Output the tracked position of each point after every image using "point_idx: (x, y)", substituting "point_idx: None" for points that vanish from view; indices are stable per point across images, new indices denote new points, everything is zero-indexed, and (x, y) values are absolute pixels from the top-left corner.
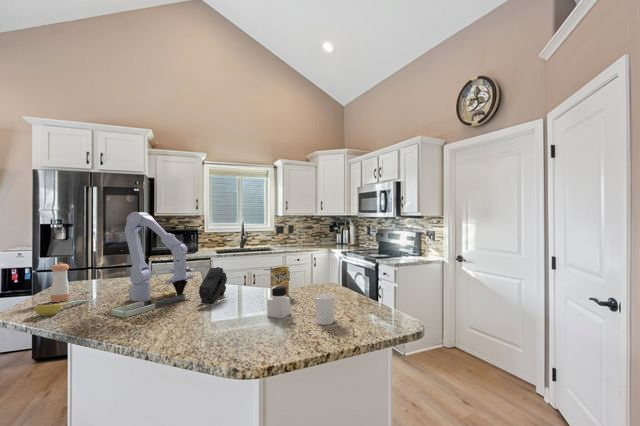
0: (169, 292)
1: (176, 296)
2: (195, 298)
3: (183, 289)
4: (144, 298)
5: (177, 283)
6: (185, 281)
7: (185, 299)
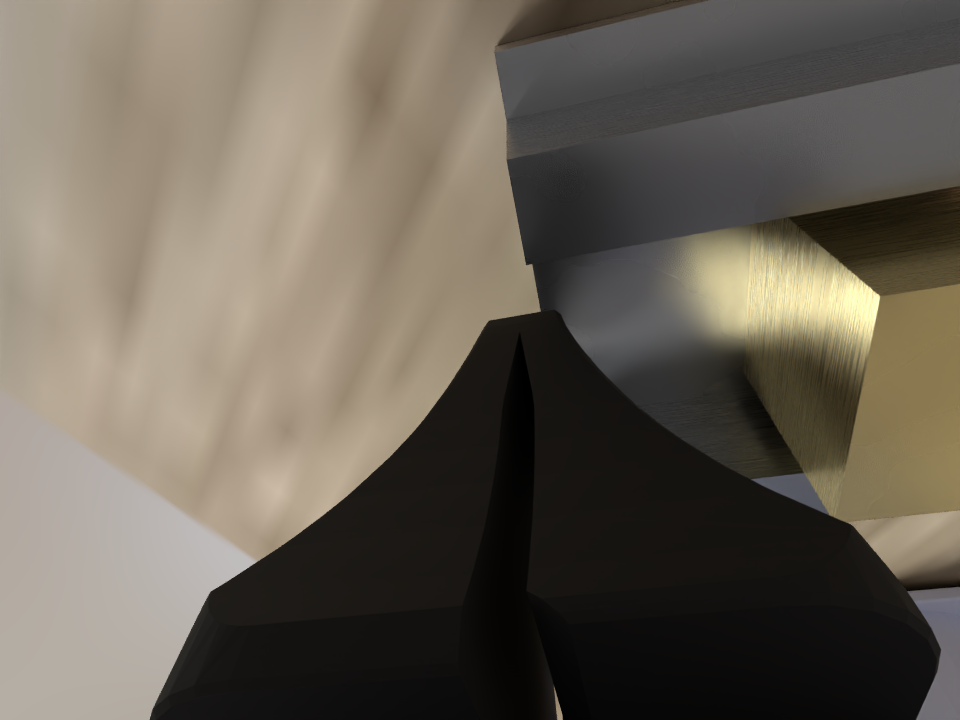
0: (940, 441)
1: (916, 72)
2: (199, 142)
3: (453, 405)
4: (950, 651)
5: (920, 682)
6: (313, 692)
7: (517, 66)
